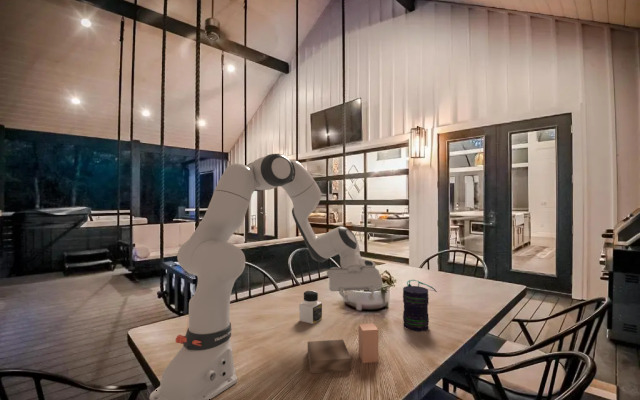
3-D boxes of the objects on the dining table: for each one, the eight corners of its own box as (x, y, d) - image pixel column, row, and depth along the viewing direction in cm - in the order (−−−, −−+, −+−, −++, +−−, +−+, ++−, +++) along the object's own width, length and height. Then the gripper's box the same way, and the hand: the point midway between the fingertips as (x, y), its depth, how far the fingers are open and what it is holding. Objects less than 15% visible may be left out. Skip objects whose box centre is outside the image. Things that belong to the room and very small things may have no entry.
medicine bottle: (313, 324, 118) (313, 295, 119) (299, 320, 122) (299, 292, 122) (322, 318, 124) (322, 290, 125) (308, 315, 128) (308, 288, 128)
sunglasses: (414, 286, 175) (415, 277, 175) (438, 294, 164) (439, 285, 164) (401, 290, 165) (402, 282, 165) (426, 299, 154) (427, 290, 154)
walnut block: (310, 374, 84) (310, 361, 84) (307, 353, 96) (307, 341, 96) (351, 371, 85) (351, 358, 86) (343, 351, 97) (342, 339, 97)
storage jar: (405, 320, 123) (405, 284, 123) (430, 324, 118) (429, 287, 119) (401, 329, 114) (400, 291, 114) (427, 333, 109) (427, 294, 110)
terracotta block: (378, 361, 90) (378, 329, 90) (362, 362, 89) (362, 330, 90) (373, 353, 95) (373, 323, 95) (358, 354, 94) (358, 323, 95)
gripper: (327, 263, 110) (331, 297, 101) (378, 262, 113) (387, 294, 103) (325, 272, 115) (329, 305, 105) (375, 270, 117) (383, 303, 107)
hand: (358, 300), depth 104 cm, fingers open, 8 cm apart
